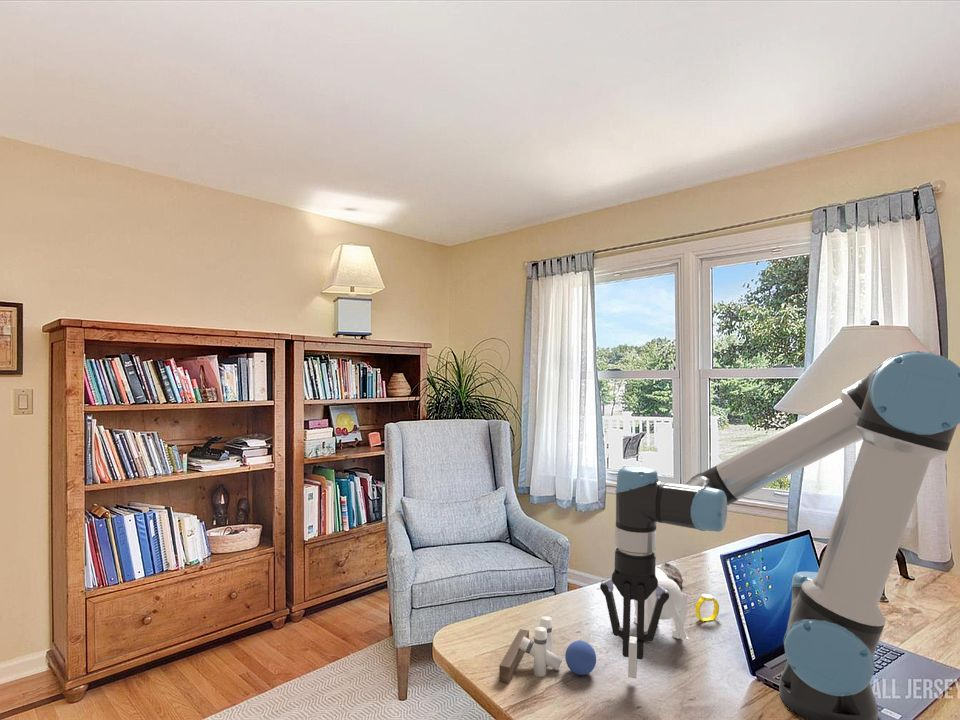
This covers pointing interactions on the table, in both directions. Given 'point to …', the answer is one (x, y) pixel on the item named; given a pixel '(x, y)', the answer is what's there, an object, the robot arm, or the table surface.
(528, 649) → the front pin
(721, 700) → the table surface
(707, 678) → the table surface
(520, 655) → the back wall
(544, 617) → the pin
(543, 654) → the pin
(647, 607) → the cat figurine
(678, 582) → the mineral rock
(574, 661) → the ball
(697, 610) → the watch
